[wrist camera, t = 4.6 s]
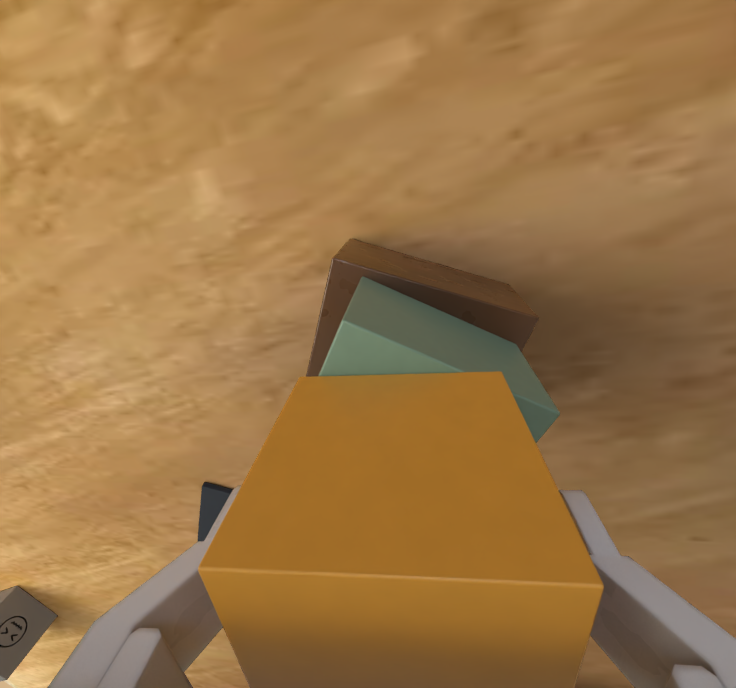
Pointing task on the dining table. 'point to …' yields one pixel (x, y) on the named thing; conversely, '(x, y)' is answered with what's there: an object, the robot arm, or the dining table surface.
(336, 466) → the top block
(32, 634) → the dice cube
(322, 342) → the base block
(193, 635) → the robot arm
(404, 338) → the middle block
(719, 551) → the dining table surface
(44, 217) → the dining table surface
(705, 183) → the dining table surface
